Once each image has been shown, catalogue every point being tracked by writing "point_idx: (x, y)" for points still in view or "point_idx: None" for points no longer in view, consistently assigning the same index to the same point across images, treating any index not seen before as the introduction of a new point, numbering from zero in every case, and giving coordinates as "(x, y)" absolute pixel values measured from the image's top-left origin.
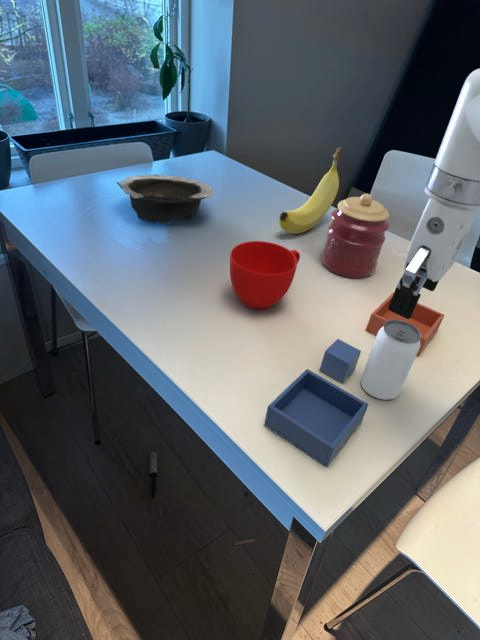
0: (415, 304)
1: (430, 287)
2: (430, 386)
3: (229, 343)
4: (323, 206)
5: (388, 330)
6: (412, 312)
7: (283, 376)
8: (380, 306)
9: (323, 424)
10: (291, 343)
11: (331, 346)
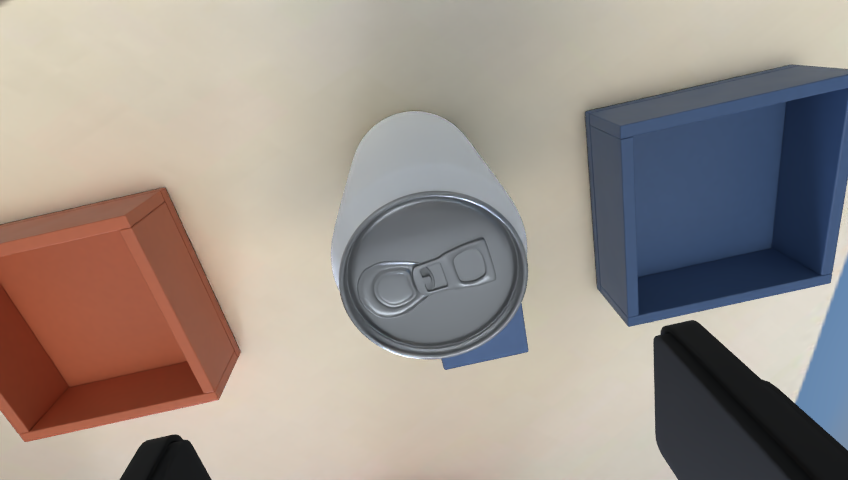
0: (798, 416)
1: (184, 472)
2: (249, 71)
3: (608, 465)
4: None
5: (476, 316)
6: (732, 354)
7: (601, 336)
8: (149, 411)
9: (685, 167)
10: (484, 407)
11: (495, 355)
